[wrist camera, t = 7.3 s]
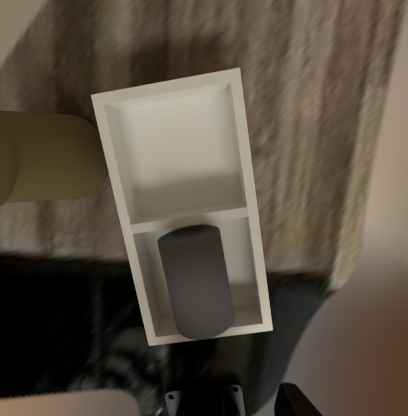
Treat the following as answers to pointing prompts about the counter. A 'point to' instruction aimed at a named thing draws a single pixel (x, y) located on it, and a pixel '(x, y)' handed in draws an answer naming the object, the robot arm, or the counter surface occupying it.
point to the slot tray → (185, 188)
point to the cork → (49, 157)
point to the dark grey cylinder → (197, 281)
